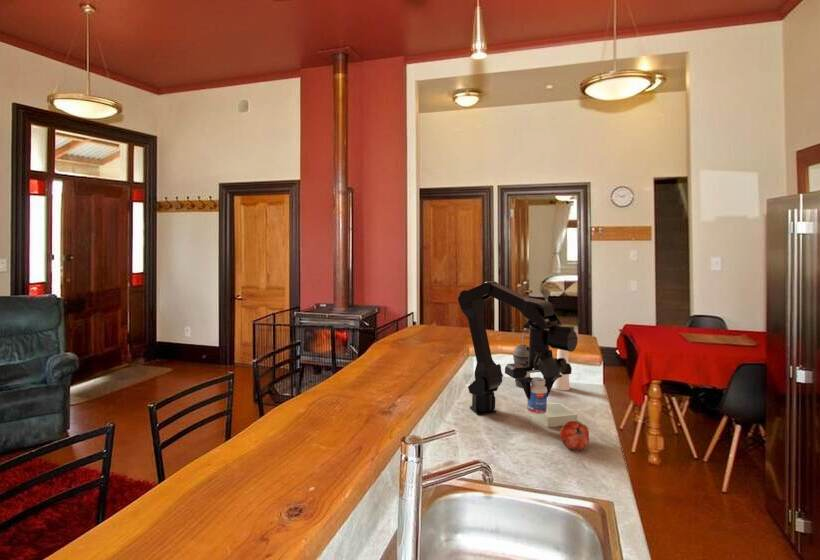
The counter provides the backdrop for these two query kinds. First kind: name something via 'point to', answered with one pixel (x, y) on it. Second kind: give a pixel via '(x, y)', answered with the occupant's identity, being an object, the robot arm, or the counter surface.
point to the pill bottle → (537, 396)
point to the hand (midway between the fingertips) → (537, 397)
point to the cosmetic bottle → (563, 381)
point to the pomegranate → (575, 435)
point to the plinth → (555, 415)
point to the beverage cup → (520, 358)
